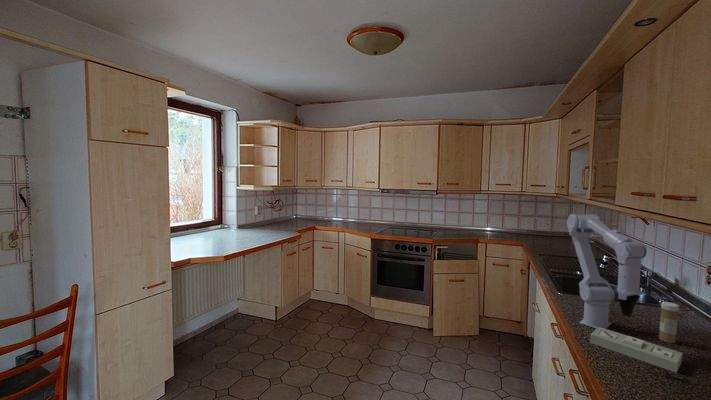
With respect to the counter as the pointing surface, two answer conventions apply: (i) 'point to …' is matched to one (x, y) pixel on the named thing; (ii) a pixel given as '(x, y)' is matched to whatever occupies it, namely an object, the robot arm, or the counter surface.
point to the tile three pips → (608, 335)
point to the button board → (637, 350)
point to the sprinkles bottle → (668, 322)
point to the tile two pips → (662, 352)
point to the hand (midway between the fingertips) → (626, 315)
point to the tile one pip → (634, 342)
